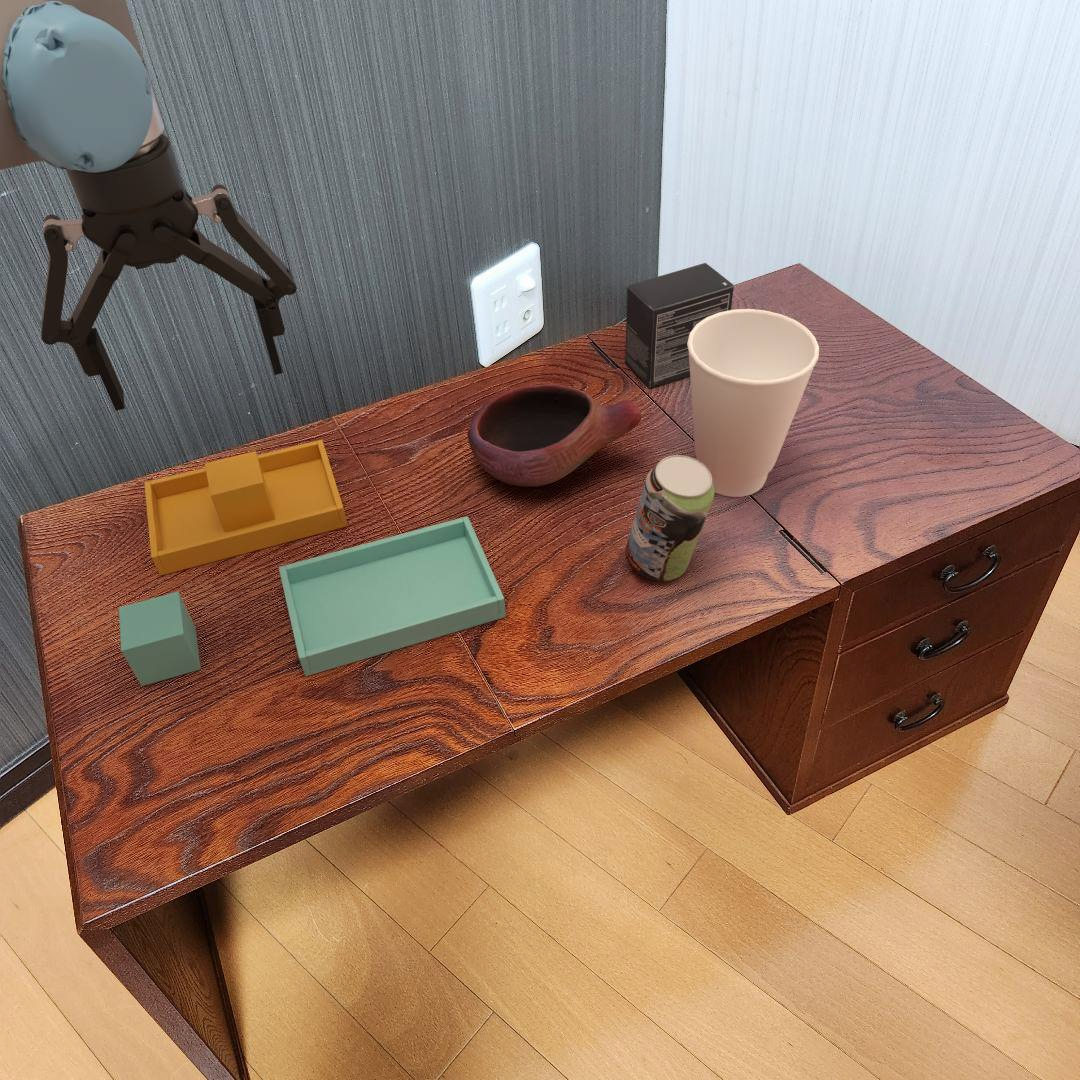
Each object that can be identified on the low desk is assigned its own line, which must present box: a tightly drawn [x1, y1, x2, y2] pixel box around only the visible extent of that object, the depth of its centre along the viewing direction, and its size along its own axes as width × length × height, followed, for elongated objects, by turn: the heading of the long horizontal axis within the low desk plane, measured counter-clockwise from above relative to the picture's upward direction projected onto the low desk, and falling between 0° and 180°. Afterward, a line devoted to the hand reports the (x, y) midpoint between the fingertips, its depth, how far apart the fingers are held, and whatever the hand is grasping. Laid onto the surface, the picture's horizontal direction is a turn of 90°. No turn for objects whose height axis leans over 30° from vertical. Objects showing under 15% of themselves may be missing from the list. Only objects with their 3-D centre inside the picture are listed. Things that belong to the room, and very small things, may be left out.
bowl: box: [466, 383, 642, 487], centre depth 96 cm, size 16×13×8 cm
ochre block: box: [204, 450, 275, 532], centre depth 92 cm, size 5×5×5 cm
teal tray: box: [278, 516, 507, 677], centre depth 85 cm, size 18×11×3 cm, turn 110°
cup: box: [687, 308, 820, 498], centre depth 90 cm, size 12×12×16 cm
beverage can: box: [625, 454, 715, 582], centre depth 83 cm, size 6×7×12 cm
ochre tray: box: [143, 439, 349, 576], centre depth 93 cm, size 18×11×3 cm, turn 110°
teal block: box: [118, 591, 202, 687], centre depth 80 cm, size 5×5×5 cm
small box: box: [624, 262, 735, 389], centre depth 106 cm, size 11×6×10 cm, turn 115°
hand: (199, 383), depth 82 cm, fingers open, 13 cm apart
